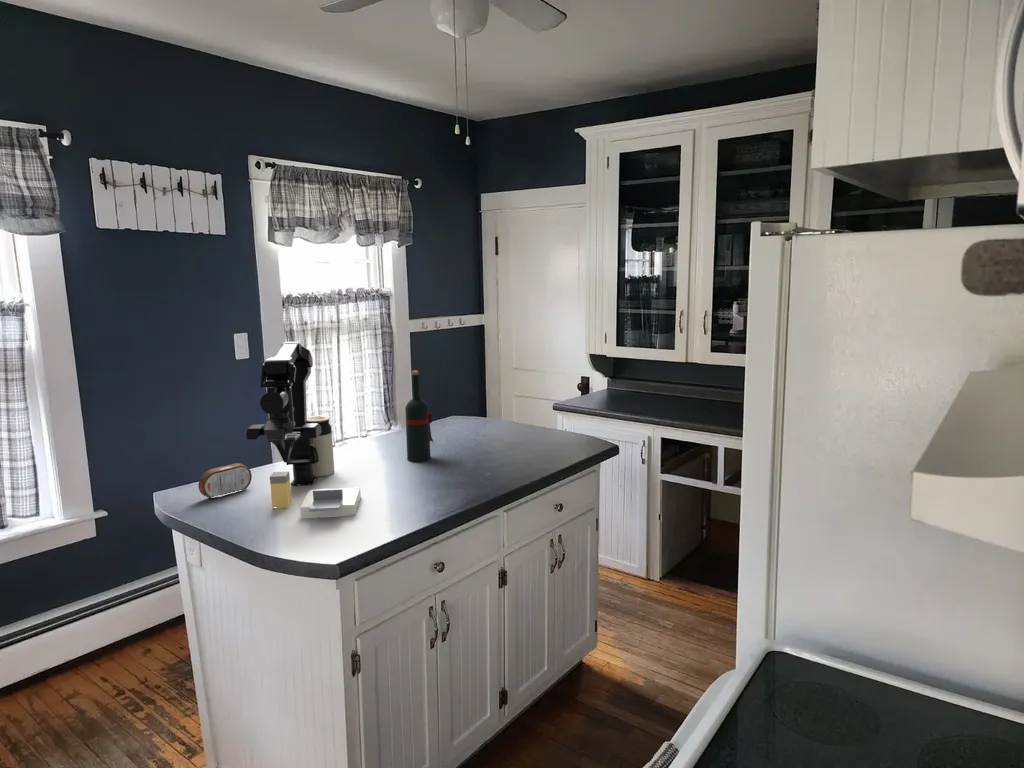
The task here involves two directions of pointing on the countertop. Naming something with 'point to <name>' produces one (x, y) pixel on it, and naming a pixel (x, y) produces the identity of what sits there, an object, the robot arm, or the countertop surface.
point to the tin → (224, 480)
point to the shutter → (326, 500)
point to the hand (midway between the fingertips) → (286, 462)
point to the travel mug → (323, 447)
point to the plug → (280, 489)
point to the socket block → (347, 509)
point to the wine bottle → (418, 425)
